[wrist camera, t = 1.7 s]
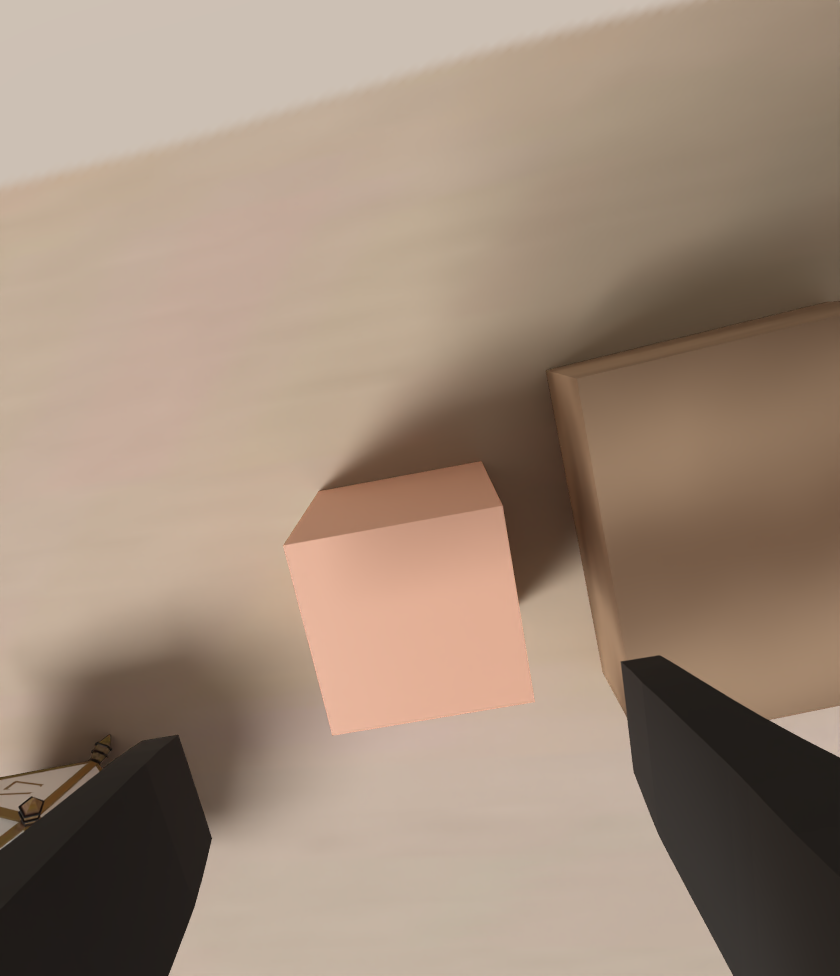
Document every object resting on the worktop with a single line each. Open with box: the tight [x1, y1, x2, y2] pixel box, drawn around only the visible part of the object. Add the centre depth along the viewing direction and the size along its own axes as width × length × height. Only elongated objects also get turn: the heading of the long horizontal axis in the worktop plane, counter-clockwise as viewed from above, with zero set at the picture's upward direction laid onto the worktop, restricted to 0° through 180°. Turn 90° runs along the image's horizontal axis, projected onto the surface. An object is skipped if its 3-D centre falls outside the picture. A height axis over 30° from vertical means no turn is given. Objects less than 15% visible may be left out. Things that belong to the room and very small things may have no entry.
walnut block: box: [546, 301, 840, 720], centre depth 17 cm, size 10×8×4 cm
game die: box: [0, 735, 112, 850], centre depth 17 cm, size 9×8×10 cm
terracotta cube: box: [283, 461, 535, 736], centre depth 17 cm, size 5×5×5 cm
